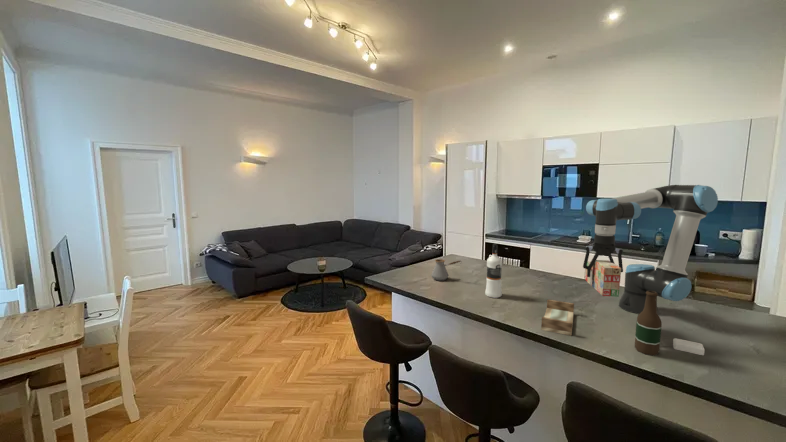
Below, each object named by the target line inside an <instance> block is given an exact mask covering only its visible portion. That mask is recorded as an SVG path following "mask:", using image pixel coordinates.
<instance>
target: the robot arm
mask: <svg viewBox="0 0 786 442" xmlns="http://www.w3.org/2000/svg"><path fill="white" fill-rule="evenodd" d="M718 200H719V198H718V194H717V192H716V190H715V189H714V187H712V186H709V185H701V184H695V185H694V184H670V185H664V186H659V187H655V188H650V189H647V190H646V191H645V192H639V193H638V192H637V193H634V194H633V193H632V194H629V195H624V196H618V197H612V198H599V199H592V200H589V201H588V202H587V203H586V205H585V210H586V212H587V214H588V215H589V216H593V217H595V223H594V238H593V245H591V246H589V245H586V246H585V251H586V252H585V256H584V261H583V265H582V268H583V269H585V270H586V269H587V277H590V284H589V286H591V285H592V269H591V268H592V266H593V265H594V263H595V261H596V260H598V258H599V256H600V257H602V256H604V257H607V258H608V260H609V261H610V262H611V263H614V264H616V263H615V261H614V259H613V256H612V254H613V253H614V252H616V254H617V261H618V267H620V268H621V273H623V272H625V274H624V289H623V293H622V295H621V297H620V299H619V300H618V301H619V302H618V306H619V307H620V308H621V309H622V310H623V311H624V310H625V311H626V312H630V313H635V314H638V315H639V314H640V313H641V312H642V311H643V309H644V306H645V300H646V291H654V292H657V293H658V296H657V297H659V298H663V299H664V300H669V301H672V302H680V301H682V300H684V299H686V298H687V296H689V294H690V293H691V290H692V281H691V280H690V279H689V278H688V275H689V273H687V271H686V267H687V264H688V261H689V258H690V254H691V251H692V248H693V245H694V241H695V239H696V235H697V232H698V228H699V225H700V222H701V220H702V219H704V218H706V217H707V214H708V213H710V212H713V211H714V210H715V209H716V208H717V206H718V203H719V201H718ZM647 208H650V209H657V208H661V209H672V210H673V211H672V212H673V213H674V214H675V220H674V222H673V226H672V228H671V233H670V235H669V238H668V242H667V245H666V249H665V252H664V255H663V258H662V261H661V264H660V265H657V266H656V267H655V266H654V265H652V264H644V263H635V264H634V263H633V264H628V265H627V266H626V268H625V271H624V268H623V267H624V266H623V257H622V255H623V251H624V249H622V248H618V247H616V246H615V244H616V243H615V241H616V236H615V234H616V230H617V229H616V227H617V221H624V220H625V221H627V220H629V221H630V220H635V219H638V218H639V217H640V216H641V214H642V209H647ZM592 250H594V252H595V253H594V255H593V257H592V259H591V261H589V257H590V252H592ZM587 262H590V264H589V266H587Z"/></svg>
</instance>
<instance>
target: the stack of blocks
mask: <svg viewBox="0 0 786 442" xmlns="http://www.w3.org/2000/svg"><path fill="white" fill-rule="evenodd" d="M590 262H591V261H588V262H587V266H589V264H590ZM614 263H615V262H614ZM614 263H611V262H610V259H608V260H607V259H606V260H604V259H596V261H595V263H594V265H593V266H592V268H591V269H592V285H590V277H587V269H585V281H586V282H587V283H588V284H589V285H590V286H591V287H592V288H594V290H596V291H597V292H598V293H599V294H600V295H601V297H602V296H603V297H616V298H617V297H619V296H620V283H621V274H622V272H621V268H620V267H619V265H617V264H616V263H615V264H614Z"/></svg>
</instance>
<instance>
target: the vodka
mask: <svg viewBox="0 0 786 442" xmlns="http://www.w3.org/2000/svg"><path fill="white" fill-rule="evenodd" d="M491 252H492V255H491V256H489V257H487V259H486V284H485V285H486V286H485V291H484V294H485V296H487V297H488V298H493V299H497V298H501V297H502V296H503V291H502V279H503V278H502V268H503V260H502V258H500V257H499V256H498V244H494V243H493V244H492V251H491Z"/></svg>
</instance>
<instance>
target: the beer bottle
mask: <svg viewBox="0 0 786 442" xmlns="http://www.w3.org/2000/svg"><path fill="white" fill-rule="evenodd" d="M658 297H659V296H658V293H657V292H654V291H646V300H645V306H644V309H643V311H642V312H641V313H640V314H639V313H638V315H637V318H636V325H635V337H634V348H635V350H636V351H637V352H639V353H641V354H644V355H648V356H653V355H654V356H656V355H658V354H659V353H660V346H661V336H662V327H663V325H662V323H663V322H662V319H661V317H660V315H659V314H658V310H657V309H658V307H657V306H658V305H657V304H658V303H657V302H658Z"/></svg>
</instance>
